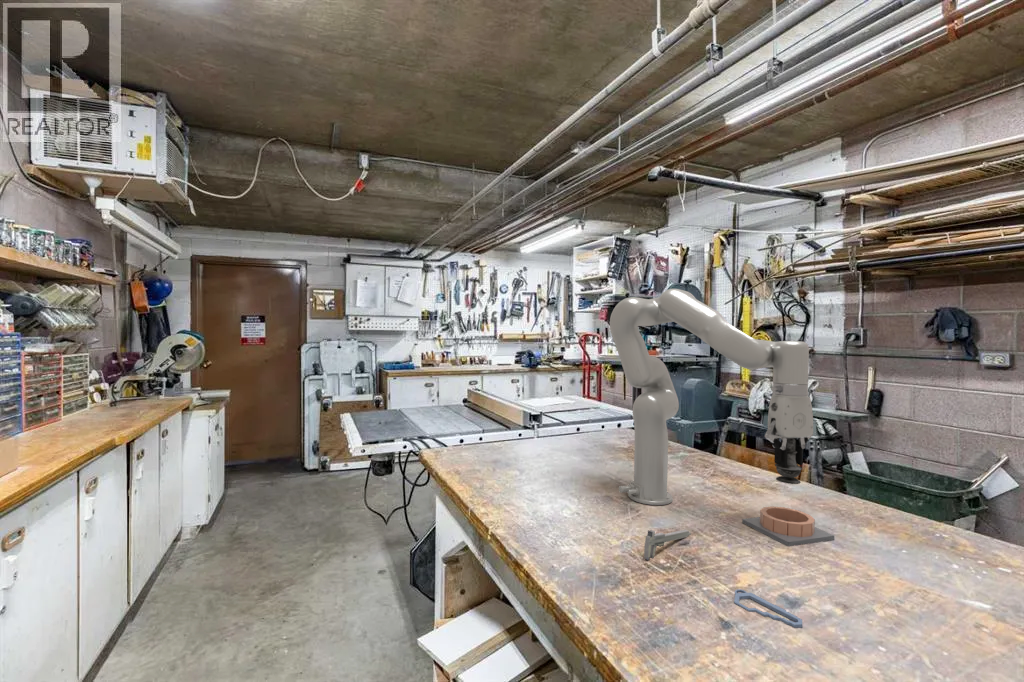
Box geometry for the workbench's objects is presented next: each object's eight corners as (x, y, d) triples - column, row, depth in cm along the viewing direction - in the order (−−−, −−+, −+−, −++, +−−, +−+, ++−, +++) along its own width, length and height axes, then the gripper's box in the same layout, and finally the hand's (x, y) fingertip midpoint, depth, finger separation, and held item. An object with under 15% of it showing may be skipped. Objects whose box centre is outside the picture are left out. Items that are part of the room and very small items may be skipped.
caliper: (648, 562, 99) (649, 533, 99) (643, 561, 100) (644, 531, 100) (691, 535, 114) (691, 509, 114) (686, 533, 115) (687, 508, 114)
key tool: (791, 638, 76) (807, 625, 78) (791, 632, 76) (807, 620, 78) (724, 601, 86) (740, 591, 89) (724, 597, 86) (740, 587, 89)
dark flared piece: (798, 478, 118) (799, 431, 118) (804, 485, 113) (805, 435, 113) (772, 476, 120) (773, 429, 120) (777, 482, 115) (778, 433, 114)
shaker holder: (788, 546, 108) (788, 529, 108) (742, 522, 121) (742, 507, 121) (834, 539, 112) (834, 523, 112) (784, 517, 125) (785, 502, 125)
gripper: (775, 393, 110) (773, 470, 110) (829, 391, 115) (828, 466, 115) (750, 389, 117) (749, 462, 118) (802, 388, 122) (801, 458, 122)
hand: (788, 463), depth 116 cm, fingers closed on dark flared piece, 4 cm apart
